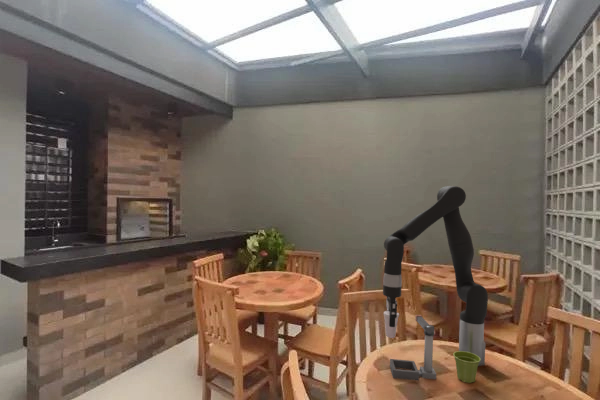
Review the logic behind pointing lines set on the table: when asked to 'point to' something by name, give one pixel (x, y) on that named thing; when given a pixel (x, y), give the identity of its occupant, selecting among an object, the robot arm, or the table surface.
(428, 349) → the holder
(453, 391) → the table surface
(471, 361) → the plant pot
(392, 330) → the smoothie
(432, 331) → the joystick lever
